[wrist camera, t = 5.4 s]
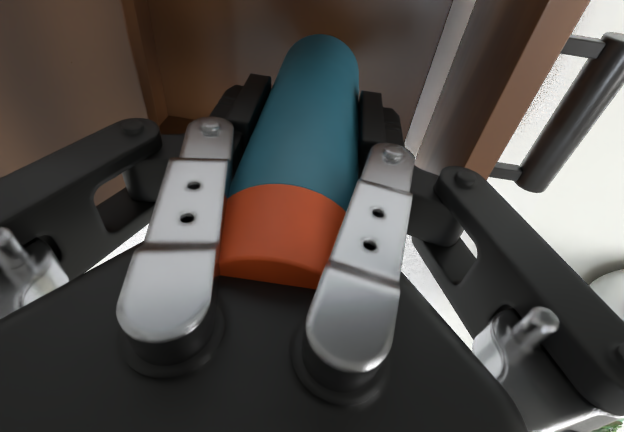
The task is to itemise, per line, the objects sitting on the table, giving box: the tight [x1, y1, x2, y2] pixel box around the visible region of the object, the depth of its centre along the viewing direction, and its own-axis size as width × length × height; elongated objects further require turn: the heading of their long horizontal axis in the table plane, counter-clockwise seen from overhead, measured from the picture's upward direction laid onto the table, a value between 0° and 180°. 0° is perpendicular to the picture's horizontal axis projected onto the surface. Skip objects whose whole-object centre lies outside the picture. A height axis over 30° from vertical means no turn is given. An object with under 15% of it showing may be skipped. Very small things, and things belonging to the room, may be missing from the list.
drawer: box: [133, 0, 624, 193], centre depth 16 cm, size 22×12×7 cm, turn 84°
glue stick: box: [219, 34, 359, 289], centre depth 11 cm, size 4×4×12 cm
